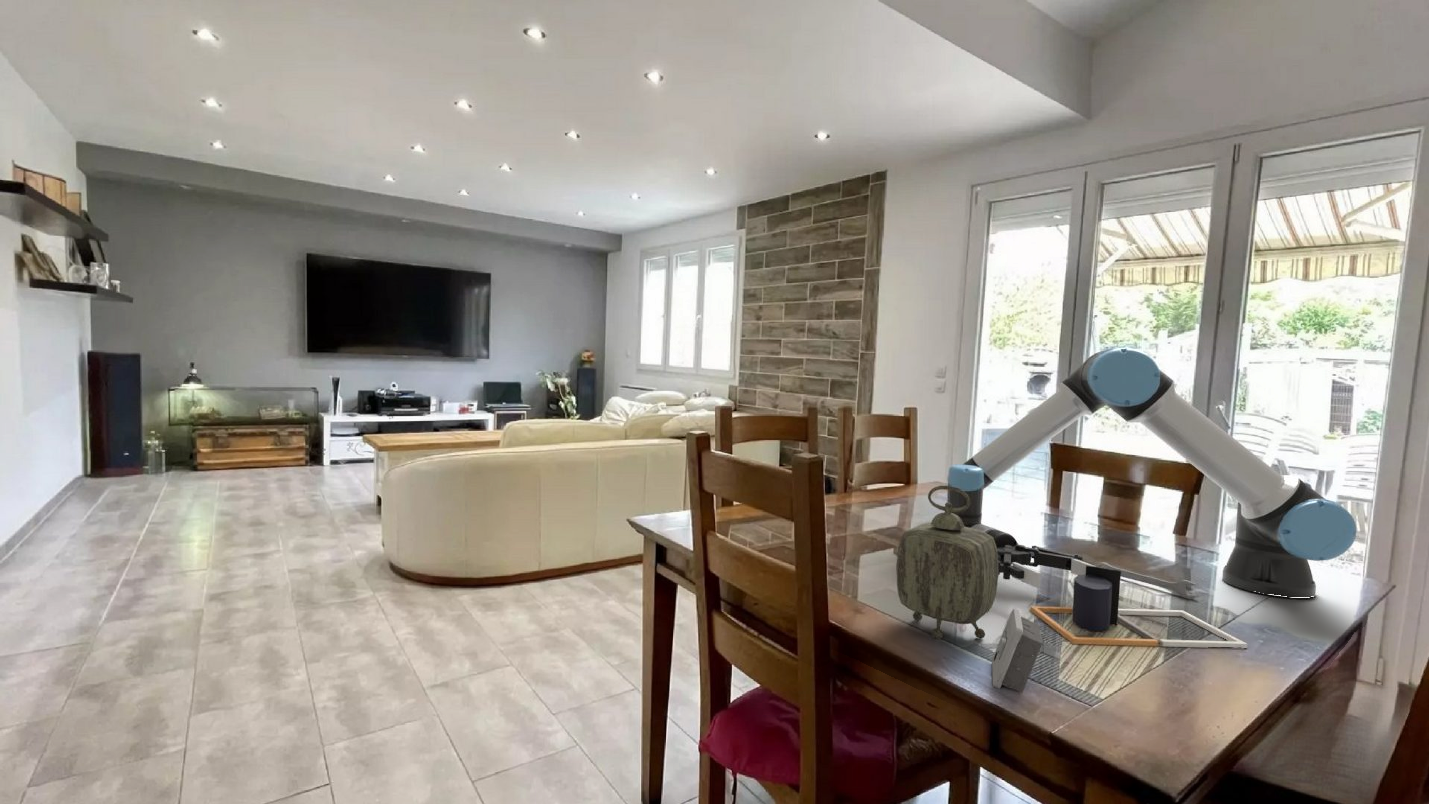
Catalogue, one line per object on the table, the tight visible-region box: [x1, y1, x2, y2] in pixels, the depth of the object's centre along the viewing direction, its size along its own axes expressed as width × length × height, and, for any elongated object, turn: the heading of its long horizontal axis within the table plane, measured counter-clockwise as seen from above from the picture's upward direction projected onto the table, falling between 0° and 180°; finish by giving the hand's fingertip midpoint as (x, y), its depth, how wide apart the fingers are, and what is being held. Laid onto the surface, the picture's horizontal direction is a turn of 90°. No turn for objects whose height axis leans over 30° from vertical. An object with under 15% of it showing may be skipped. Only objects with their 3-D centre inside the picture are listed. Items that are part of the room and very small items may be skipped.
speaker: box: [1071, 565, 1122, 633], centre depth 114 cm, size 8×6×10 cm
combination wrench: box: [1097, 561, 1200, 600], centre depth 137 cm, size 4×1×20 cm
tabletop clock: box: [895, 485, 999, 640], centre depth 108 cm, size 14×9×25 cm, turn 50°
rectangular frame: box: [1029, 605, 1248, 649], centre depth 114 cm, size 28×15×1 cm, turn 90°
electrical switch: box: [991, 607, 1043, 693], centre depth 93 cm, size 9×5×9 cm, turn 158°
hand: (1070, 578), depth 118 cm, fingers open, 13 cm apart
